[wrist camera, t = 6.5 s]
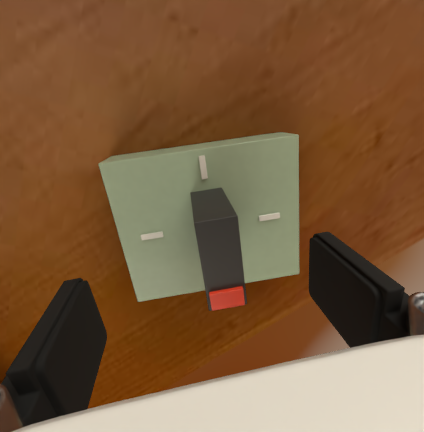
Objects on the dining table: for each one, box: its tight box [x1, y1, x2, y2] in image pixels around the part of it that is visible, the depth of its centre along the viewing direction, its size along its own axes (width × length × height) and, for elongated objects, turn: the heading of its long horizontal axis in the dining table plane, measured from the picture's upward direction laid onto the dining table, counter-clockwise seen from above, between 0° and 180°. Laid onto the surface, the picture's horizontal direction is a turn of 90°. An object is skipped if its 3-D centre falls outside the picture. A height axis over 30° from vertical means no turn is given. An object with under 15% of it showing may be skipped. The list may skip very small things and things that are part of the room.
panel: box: [98, 132, 299, 302], centre depth 19 cm, size 12×10×3 cm
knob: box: [190, 188, 247, 311], centre depth 15 cm, size 5×2×5 cm, turn 8°
